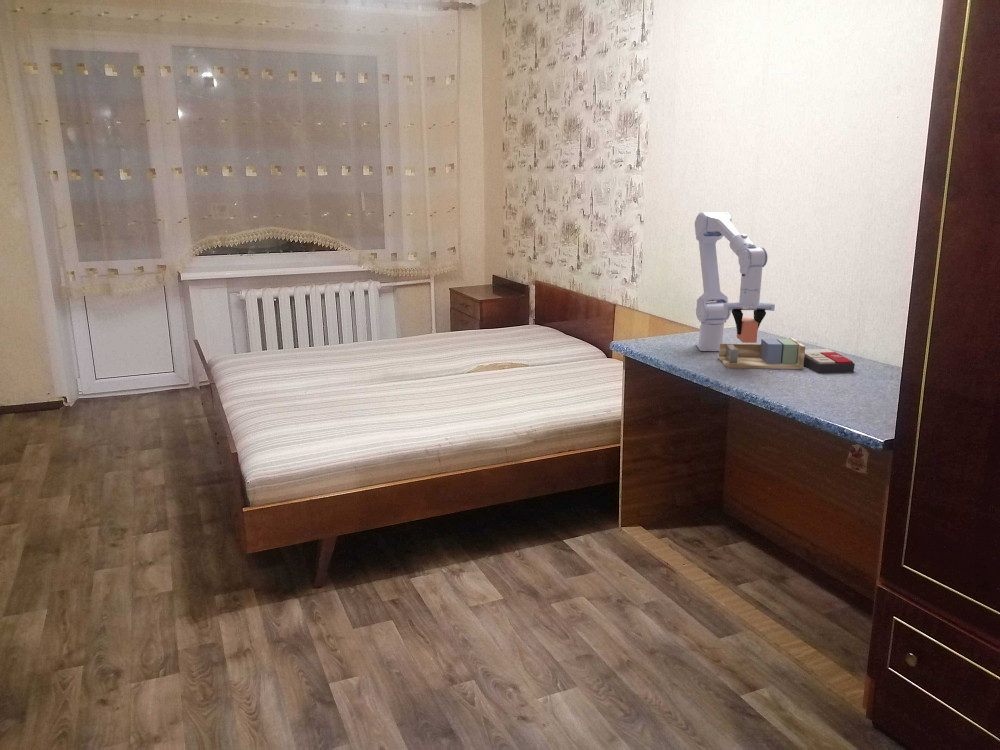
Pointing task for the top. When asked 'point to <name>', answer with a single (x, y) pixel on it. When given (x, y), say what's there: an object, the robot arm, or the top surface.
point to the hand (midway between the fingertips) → (746, 333)
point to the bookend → (731, 353)
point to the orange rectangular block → (748, 331)
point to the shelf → (758, 357)
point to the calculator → (827, 361)
